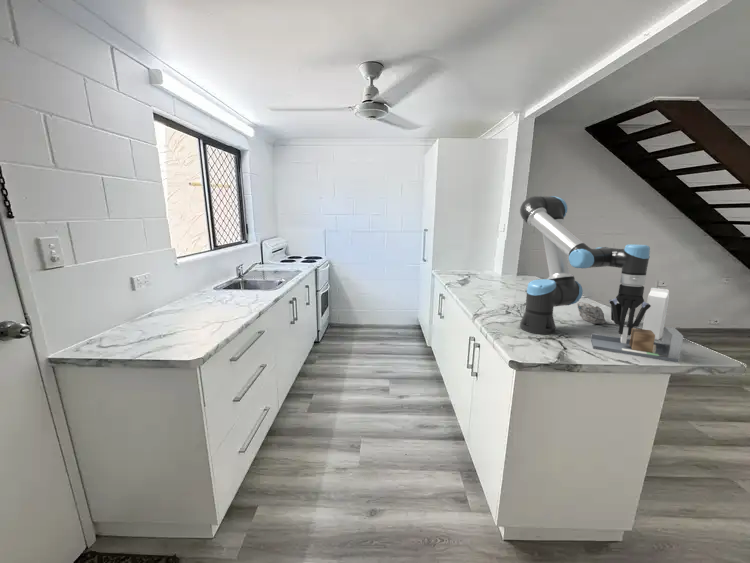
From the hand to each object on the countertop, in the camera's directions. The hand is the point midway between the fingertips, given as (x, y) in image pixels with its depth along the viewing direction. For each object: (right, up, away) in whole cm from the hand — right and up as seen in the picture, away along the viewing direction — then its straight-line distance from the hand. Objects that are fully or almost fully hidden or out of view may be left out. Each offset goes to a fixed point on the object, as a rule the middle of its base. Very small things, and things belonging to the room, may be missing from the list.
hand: (623, 342), depth 127 cm
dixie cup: (+23, +3, +33) cm, 40 cm away
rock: (+11, +4, +36) cm, 37 cm away
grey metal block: (+13, -3, -6) cm, 14 cm away
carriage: (+5, -2, -3) cm, 6 cm away
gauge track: (+3, -3, -1) cm, 4 cm away
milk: (+23, 0, +14) cm, 27 cm away
